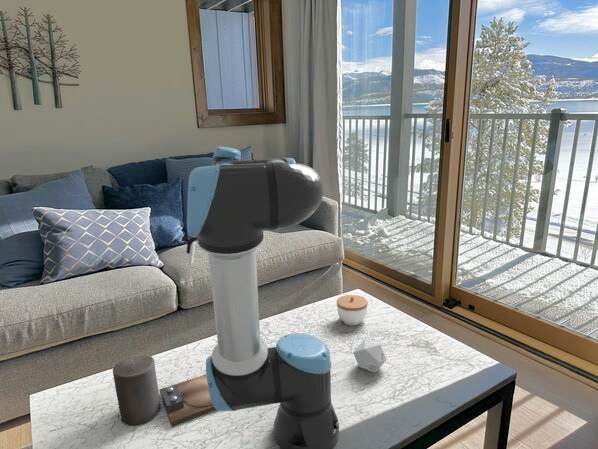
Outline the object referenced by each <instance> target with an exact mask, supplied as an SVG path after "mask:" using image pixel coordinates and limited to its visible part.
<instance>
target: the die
mask: <svg viewBox="0 0 598 449" xmlns="http://www.w3.org/2000/svg"><path fill="white" fill-rule="evenodd" d="M353 356H354V358H355V361H356V362H357V365H358V368H361V369H363V370H365V371H368V372H371V373H372V374H376V373H377V372H378V371H379V370H380V368H382V366H383V365H384V363H385V362H386V361H387V357H386V355H385V352H384V350H383V348H382V346H381V344H380V343H376V342H374V341H371V340H367V339H363V340H362V342H361V343H360V344H359V345H358V346H357V347H356V348H355V350H353Z"/></svg>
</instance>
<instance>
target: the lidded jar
mask: <svg viewBox="0 0 598 449" xmlns="http://www.w3.org/2000/svg"><path fill="white" fill-rule="evenodd" d="M368 304H369V303H368V300H367V298H365V297H363V296H360V295H357V294H356V295H355V294H345V295H342V296H339V297H337V300H336V308H337V309H336V310H337V315H338V317H339V318H340V320H341V321H342V322H343V323H344V324H345V325H348V326H357V325H360V324H361V322H363V321H364V320H365V319H366V316H367V312H368Z"/></svg>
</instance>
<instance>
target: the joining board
mask: <svg viewBox="0 0 598 449" xmlns="http://www.w3.org/2000/svg"><path fill="white" fill-rule="evenodd" d="M176 385H177V387H178V389H179V392H180V394H181V396H182V399H183V403H184V408H181V409H178V410H175V411H173V412H170V413H168V412H167V410H166V407H165V404H164V401H163V398H162V393H161V390H164V389H167V388H168V387H170V386H172V387H173V386H176ZM159 396H160V397H161V398H160V399H161V401H162V404H163V407H164V410H165V413H166V415H167V418H168V421H169V424H170V426H171V428H173V427H176V426H179V425H182V424H184V423H187V422H189V421H192V420H195V419H197V418H200V417H203V416H205V415H207V414H211V413H213V412H216V411H218V410H217V409H215V407H214V406H213V404H212V401H211V398H210V394H209V390H208V383H207V377H206V373H205V374H203V375H199V376H196V377H194V378H190V379H187V380H185V381H181V382H179V383H175V384H173V385H169V386H166V387H163V388H160V389H159Z"/></svg>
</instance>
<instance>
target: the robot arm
mask: <svg viewBox="0 0 598 449" xmlns="http://www.w3.org/2000/svg"><path fill="white" fill-rule="evenodd" d="M241 154H242V153H241V151H240V149H237V148H234V147H228V146H216V147H215V148H214V151H213V156H212V163H211V164H212V165H207V166H198V167H195V168H194V169H193V170H191V172H190V173H189V177H188V186H187V187H188V188H187V210H186V211H187V212H186V213H187V215H186V229H187V230H186V232H185V233H184V234H183V236H182V237H181V241H182V242H186V254H189V258H188V266H192V265H193V264H194V259H195V254H196V252H195V250H196V242H195V241H196V240H197V244H198V247H199V248H200V249H201V250H203V251H204V252H206V253H207V257H208V265H209V266H208V267H209V274H210V283H211V285H210V286H211V292H212V303H213V312H214V313H213V314H214V319H215V320H214V322H215V329H216V330H215V331H216V338H217V344H216V345H215V347H214V348H213V350H212V354H211V355H209V356H208V357H207V358H206V361H205V374H206V377H207V383H208V390H209V394H210V398H211V401H212V404H213V406H214V407H215V409H217V410H216V411H219V412H229V411H232V412H236V411H239V410H245V409H250V408H251V409H252V408H256V407H264V406H270V405H274V404H279V406H278V409H277V412H276V416H275V419H274V420H273V421H274V422H273V437H274V441H275V443H276V444H277V445H278V447H279V448H280V449H332V448H333V447H334V446H335V445H336V443H337V442H338V439H339V436H340V435H339V434H340V423H339V418H338V416H337V413H336V410H335V408H334V406H333V404H332V382H331V380H332V378H331V377H332V376H331V372H332V370H331V369H332V362H331V356H330V354H331V353H330V349H329V347H328V345H327V344H326V343H325V342H324V341H323V340H322V339H320V338H318V337H315V336H314V335H311V334H307V333H296V332H295V333H289V334H286V335H284V336H282V337H280V338H279V339H278V340H277V343H276V345H275V346H273V347H268V346H267V345H266V343H265V341H264V340H263V339H261V333H260V314H259V313H260V312H259V310H260V309H259V294H258V293H259V291H258V290H259V288H258V273H257V252H256V249H257V248H258V247H260V246H261V244H262V243H263V242H264V238H265V237H264V236H265V235H264V231H274V230H282V229H283V230H284V229H287V228H292V227H294V226H297V225H298V224H300V223H302V222H304V221H305V220H307V219H308V218H310V217H311V216H312V215H313V214H314V213H315V212H316V210H318V208H319V206H321V203H322V200H323V197H324V184H323V180H322V179H321V176H320V175H319V173H318V172H317V171H316V170H315V169H313V168H312V167H311V166H309V165H306V164H303V163H300V162H299V163H298V162H296V160H295V159H294V158H292V157H280V158H279V157H278V158H276V157H275V158H262V159H244V160H241V158H242V156H241Z"/></svg>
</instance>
